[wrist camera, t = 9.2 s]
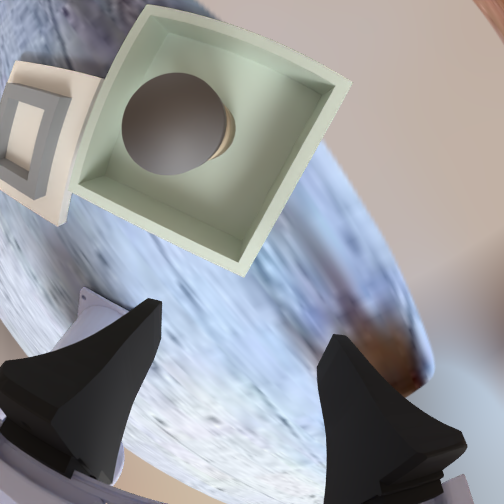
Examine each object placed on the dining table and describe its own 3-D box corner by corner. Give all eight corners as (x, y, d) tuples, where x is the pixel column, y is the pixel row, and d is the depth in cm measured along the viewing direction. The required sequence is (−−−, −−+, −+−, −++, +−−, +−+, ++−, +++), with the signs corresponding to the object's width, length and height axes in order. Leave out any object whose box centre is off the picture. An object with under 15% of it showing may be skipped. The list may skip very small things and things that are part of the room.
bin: (247, 250, 20) (244, 277, 16) (99, 179, 18) (67, 190, 14) (334, 93, 15) (353, 82, 11) (167, 25, 13) (146, 4, 10)
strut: (246, 149, 16) (237, 154, 10) (183, 171, 17) (140, 190, 10) (225, 88, 15) (204, 56, 8) (163, 112, 15) (110, 100, 9)
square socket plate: (66, 222, 19) (46, 233, 17) (-6, 177, 17) (-24, 183, 15) (109, 80, 15) (89, 75, 12) (23, 61, 13) (4, 59, 11)
